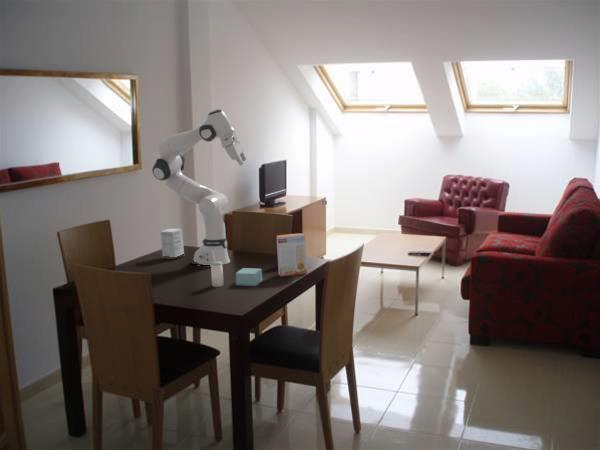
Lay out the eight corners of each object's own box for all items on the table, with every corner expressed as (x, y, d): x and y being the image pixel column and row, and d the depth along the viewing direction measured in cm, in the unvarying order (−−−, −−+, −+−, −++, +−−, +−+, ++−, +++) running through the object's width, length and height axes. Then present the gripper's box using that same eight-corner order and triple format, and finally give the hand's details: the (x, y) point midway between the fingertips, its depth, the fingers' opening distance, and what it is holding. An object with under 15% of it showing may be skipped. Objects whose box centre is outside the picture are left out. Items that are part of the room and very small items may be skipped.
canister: (210, 286, 325) (208, 263, 323) (214, 283, 331) (213, 260, 329) (221, 287, 324) (219, 263, 322) (225, 284, 329) (224, 261, 327)
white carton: (184, 256, 394) (182, 228, 391) (175, 260, 385) (173, 231, 382) (171, 255, 398) (169, 228, 395) (162, 259, 389) (159, 231, 386)
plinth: (235, 285, 326) (234, 273, 325) (243, 279, 337) (242, 267, 335) (256, 285, 324) (255, 273, 323) (263, 280, 334) (262, 268, 333)
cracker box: (304, 271, 347) (302, 232, 343) (307, 274, 341) (305, 234, 337) (278, 274, 344) (276, 234, 340) (280, 277, 338) (278, 237, 334)
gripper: (228, 137, 349) (241, 160, 352) (220, 145, 330) (234, 170, 333) (238, 132, 348) (251, 155, 351) (231, 140, 328) (245, 164, 332)
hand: (243, 162), depth 342 cm, fingers open, 8 cm apart
